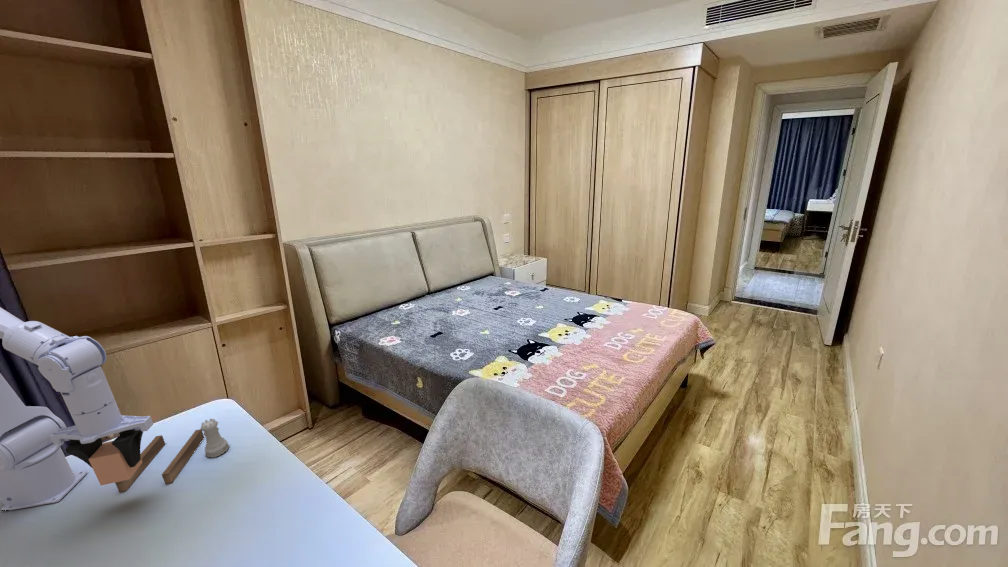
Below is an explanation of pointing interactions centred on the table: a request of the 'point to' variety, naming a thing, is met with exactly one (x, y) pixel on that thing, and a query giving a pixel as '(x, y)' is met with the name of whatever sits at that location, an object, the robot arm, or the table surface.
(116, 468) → the terracotta block
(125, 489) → the walnut channel
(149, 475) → the table surface
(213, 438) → the rook chess piece
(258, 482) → the table surface
